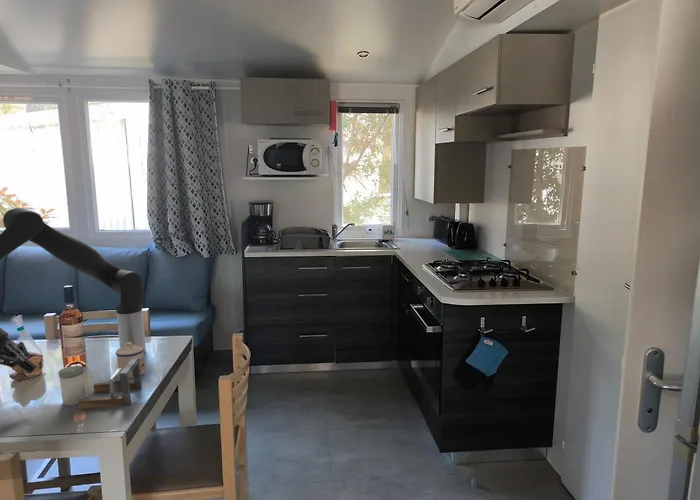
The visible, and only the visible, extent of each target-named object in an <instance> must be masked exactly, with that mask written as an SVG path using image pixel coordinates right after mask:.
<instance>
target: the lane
mask: <svg viewBox="0 0 700 500" xmlns="http://www.w3.org/2000/svg"><path fill="white" fill-rule="evenodd" d="M132 371H133V378H132V379H134V383H130V384H129V380H130V379H129V374H130V373H131V372H132ZM120 383H121V395H120V396H119V397H111V396H109V397H108V396H107V397H96V398H86V399H81V400H80V401H79V404H78V407H79V410H88V409H89V410H90V409H102V408H114V407H115V408H117V406H118V407H129V406H131V404H132V400H131V399H132V397H131V391H133V390H134V391H136V390H141V389H142V388H143V384H142V375H141V372H140V361H139V357H134V358H132V359H131V360H130V361H129V363H128V364H127V365H126V366H125V368H124V369H123V370H122V371H121V372H120ZM92 387H93V393H104V392H105V393H107V392H109V393H110V384H109V381H107V382H97V383H95V382H94V384H93V386H92Z"/></svg>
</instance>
